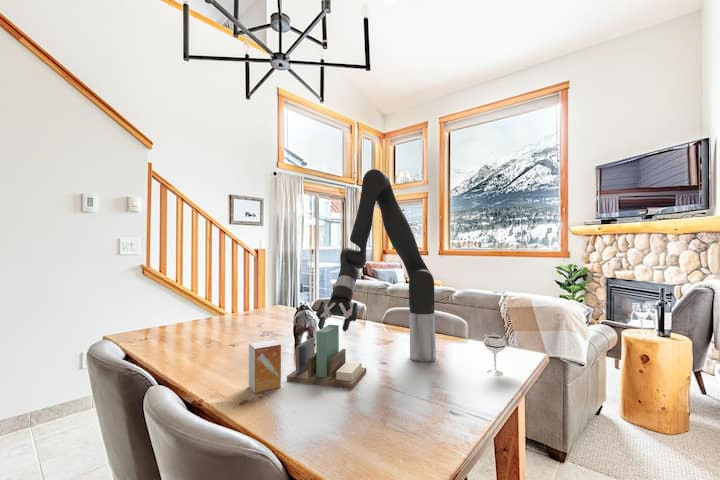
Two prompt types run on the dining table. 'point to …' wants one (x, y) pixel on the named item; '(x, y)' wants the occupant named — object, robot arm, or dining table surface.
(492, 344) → the wineglass
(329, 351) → the book
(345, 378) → the toppled book
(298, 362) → the bookend
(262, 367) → the small box
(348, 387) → the book rack
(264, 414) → the dining table surface
